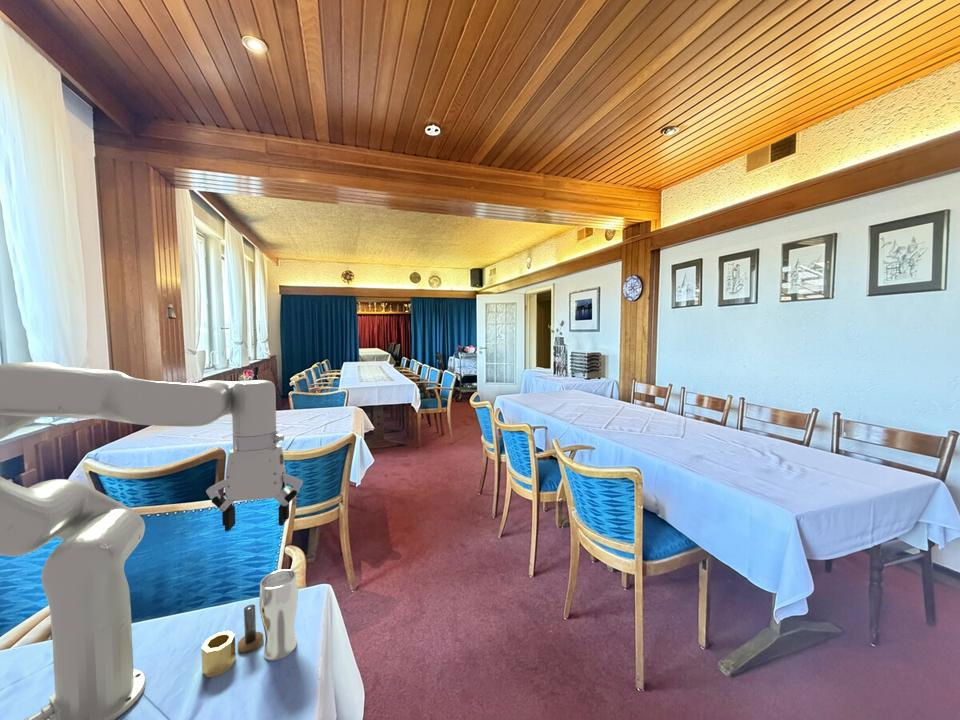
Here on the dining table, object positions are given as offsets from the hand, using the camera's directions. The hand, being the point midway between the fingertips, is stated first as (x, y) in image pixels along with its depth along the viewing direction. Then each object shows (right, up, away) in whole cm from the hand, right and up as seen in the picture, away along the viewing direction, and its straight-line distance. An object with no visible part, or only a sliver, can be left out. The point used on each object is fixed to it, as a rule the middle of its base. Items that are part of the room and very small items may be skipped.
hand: (256, 525), depth 76 cm
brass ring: (-6, -27, -2) cm, 28 cm away
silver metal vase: (+4, -27, +2) cm, 27 cm away
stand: (-3, -27, +3) cm, 27 cm away
